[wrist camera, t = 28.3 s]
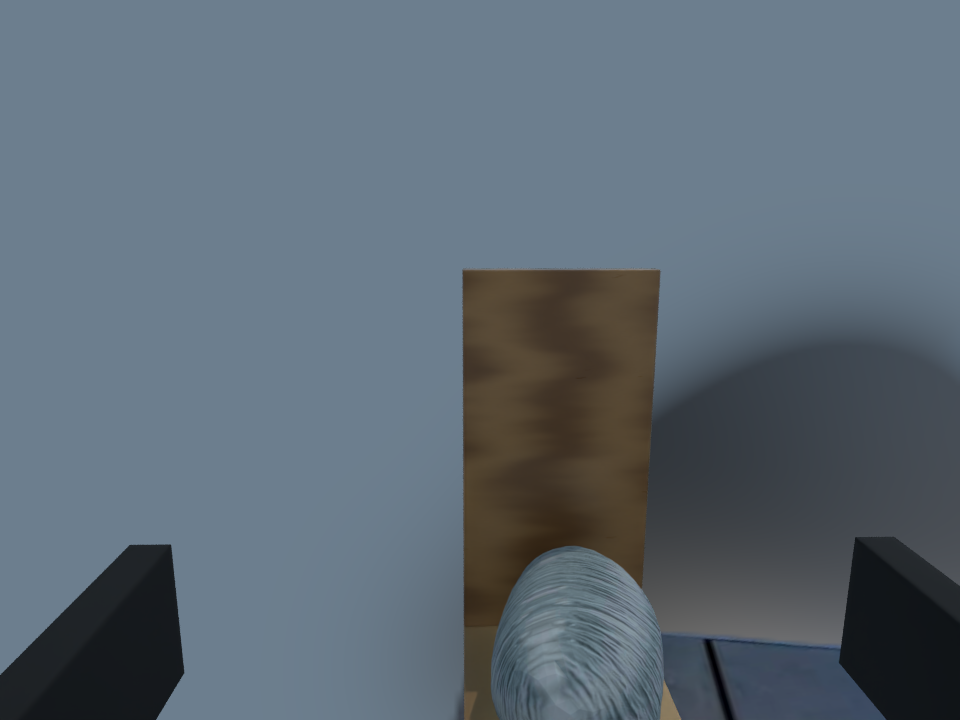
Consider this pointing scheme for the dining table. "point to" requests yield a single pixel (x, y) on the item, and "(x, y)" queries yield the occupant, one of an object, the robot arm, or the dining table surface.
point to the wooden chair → (551, 434)
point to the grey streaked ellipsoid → (577, 643)
